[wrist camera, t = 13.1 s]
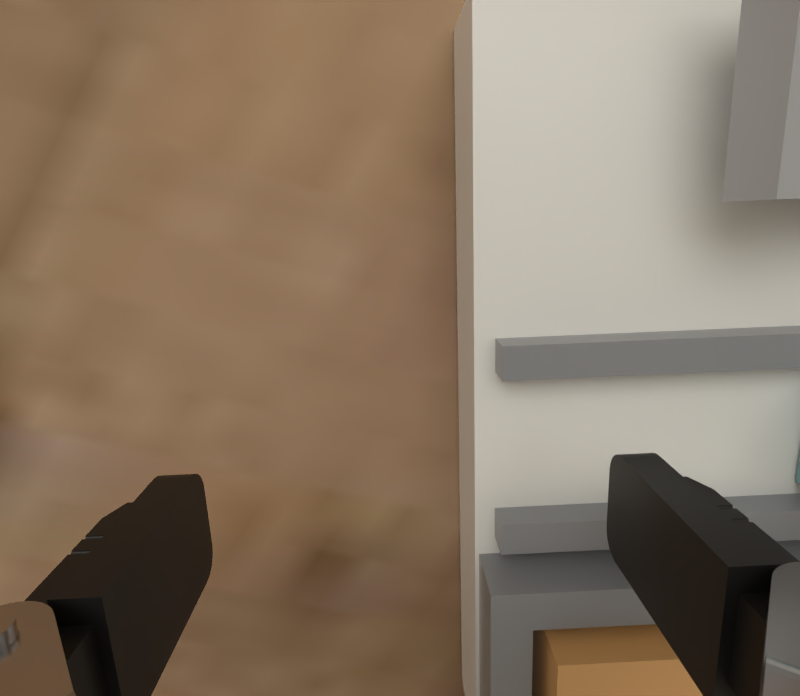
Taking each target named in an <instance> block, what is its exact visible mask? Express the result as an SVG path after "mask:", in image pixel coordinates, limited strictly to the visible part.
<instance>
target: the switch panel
mask: <svg viewBox="0 0 800 696" xmlns="http://www.w3.org/2000/svg"><path fill="white" fill-rule="evenodd" d="M741 3H742V0H465V2H464V5H463V8H462V11H461V13H460V16H459V19H458V21H457V24H456V27H455V29H454V92H455V171H456V249H457V328H458V407H459V485H460V564H461V643H462V682H463V688H464V694H465V696H532V675H533V634H534V631H535V630H554V629H573V628H592V627H611V626H630V625H649V624H656V623H655V622H654V620H653V619H652V617H651V616H650V614H649V613H648V611H647V610H646V608H645V607H644V605H643V604H642V602H641V601H640V599H639V598H638V596H637V595H636V593H635V591H634V590H633V588H632V587H631V585H630V584H629V582H628V581H627V579H626V578H625V576H624V575H623V573H622V572H621V570H620V569H619V567H618V566H617V564H616V563H615V561H614V559H613V557H612V554H611V552H610V548H609V545H608V539H607V529H606V528H607V508H608V489H609V471H610V463H611V460H612V458H613V456H614V455H618V454H639V453H656V454H658V455H659V456H660V457H661V458H662V459H664V460H665V461H666V462H667V463H668V464H669V465H670V466H671V467H673V468H674V469H675V470H676V471H677V472H678V473H679V474H681V475H682V476H683V477H686V476H687V477H689V478H691V479H693V480H695V481H697V482H700V483H702V484H704V485H706V486H708V487H710V488H712V489H714V490H715V491H716V492H718V493H719V494H720V495H721V496H722V497H724V498H725V499H726V500H727V501H728V502H729V503H731V504H732V505H733V508H737V509H738V510H739V511H740V512H741V513H743V514H744V515H745V516H746V517H747V518H749V522H753V523H755V524H756V525H757V526H758V527H759V528H760V529H762V530H763V531H764V532H765V533H766V534H768V535H769V536H770V537H771V538H772V539H774V540H775V541H776V542H777V543H778V544H780V545H781V546H782V547H783V548H784V549H786V550H787V551H788V552H789V553H790V554H791V555H793V556H794V557H795V558H796V559H797V560H799V561H800V484H799V483H798V482H796V476H797V469H798V462H799V455H800V199H789V200H758V201H731V202H722V196H723V186H724V175H725V165H726V155H727V145H728V135H729V125H730V115H731V104H732V94H733V84H734V74H735V64H736V54H737V44H738V34H739V23H740V13H741Z"/></svg>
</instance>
